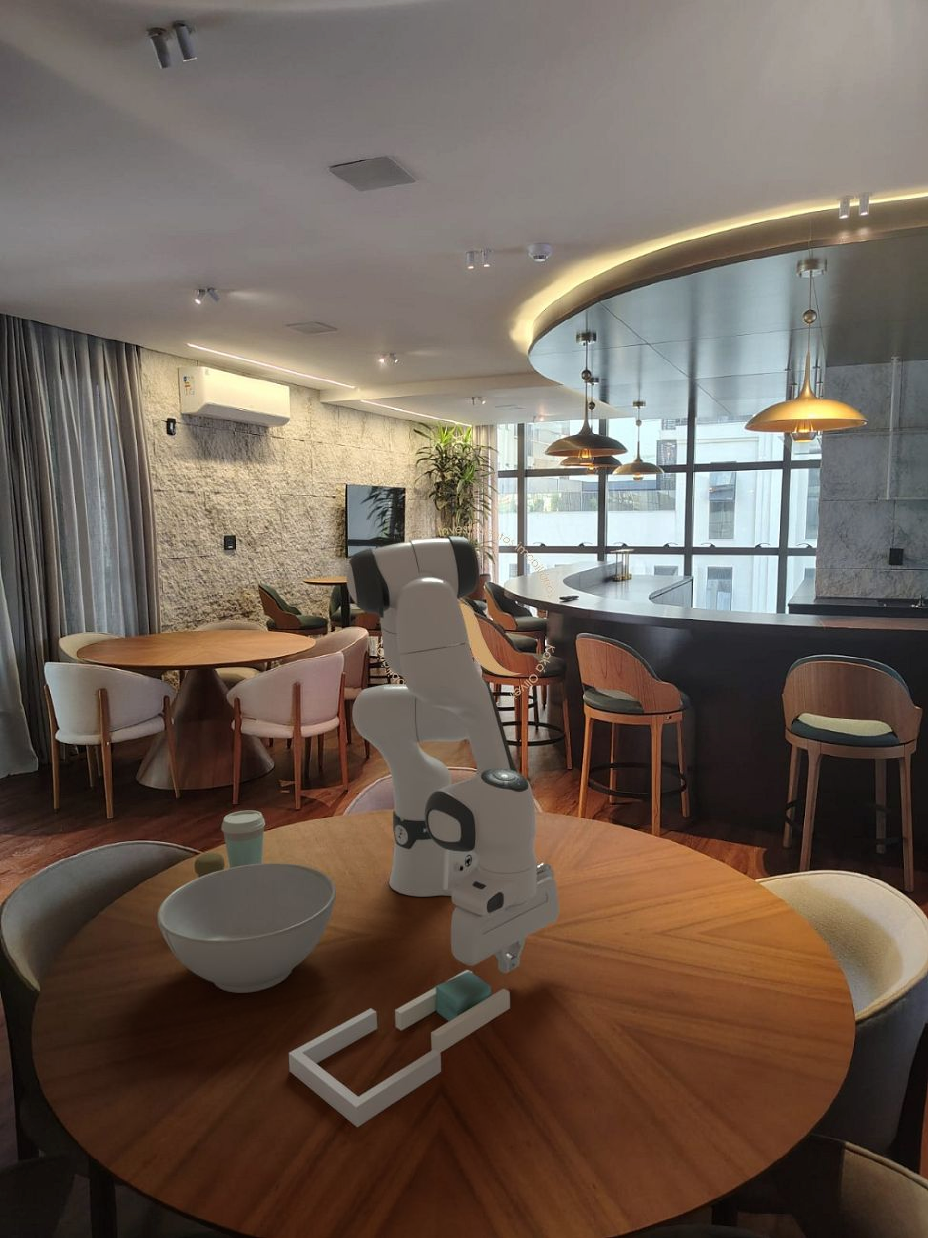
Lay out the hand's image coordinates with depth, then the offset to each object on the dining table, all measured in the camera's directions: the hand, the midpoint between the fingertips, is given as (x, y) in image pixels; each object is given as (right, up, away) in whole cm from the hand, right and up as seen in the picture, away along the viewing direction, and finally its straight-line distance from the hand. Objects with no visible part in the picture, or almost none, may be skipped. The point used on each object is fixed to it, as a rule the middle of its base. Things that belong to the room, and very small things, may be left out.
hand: (509, 968), depth 122 cm
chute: (-8, -4, -8) cm, 12 cm away
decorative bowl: (-40, -3, +6) cm, 40 cm away
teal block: (-7, -4, -6) cm, 10 cm away
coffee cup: (-51, +1, +43) cm, 66 cm away
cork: (-52, -1, +26) cm, 58 cm away
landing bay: (-19, -5, -18) cm, 27 cm away
